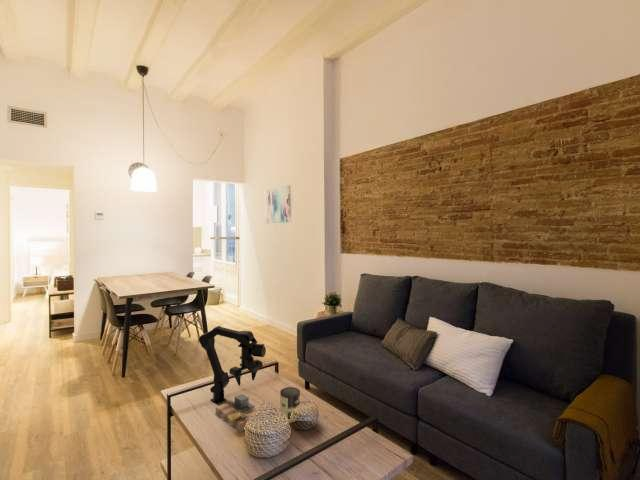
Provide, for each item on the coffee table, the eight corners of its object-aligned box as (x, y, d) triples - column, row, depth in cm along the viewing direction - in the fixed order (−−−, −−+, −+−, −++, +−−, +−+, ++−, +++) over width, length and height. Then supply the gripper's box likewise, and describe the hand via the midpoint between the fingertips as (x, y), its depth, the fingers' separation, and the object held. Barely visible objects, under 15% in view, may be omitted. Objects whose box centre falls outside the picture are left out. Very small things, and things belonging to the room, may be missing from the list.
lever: (237, 413, 173) (226, 416, 169) (237, 411, 173) (227, 414, 169) (243, 418, 170) (233, 421, 165) (243, 415, 170) (233, 418, 165)
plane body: (215, 414, 180) (215, 404, 180) (225, 409, 185) (225, 400, 185) (240, 432, 165) (240, 421, 165) (251, 426, 170) (251, 416, 170)
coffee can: (301, 414, 183) (302, 388, 182) (296, 424, 173) (297, 397, 172) (283, 411, 185) (283, 385, 185) (277, 422, 175) (277, 394, 174)
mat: (228, 406, 188) (228, 406, 188) (243, 400, 196) (243, 399, 196) (239, 413, 182) (239, 413, 182) (254, 406, 189) (254, 406, 189)
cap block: (234, 405, 189) (234, 396, 189) (242, 402, 193) (242, 393, 192) (240, 409, 185) (240, 400, 185) (248, 406, 189) (248, 397, 188)
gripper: (241, 363, 178) (240, 393, 178) (269, 354, 192) (268, 382, 192) (228, 358, 185) (228, 386, 186) (256, 349, 199) (256, 375, 200)
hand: (246, 382), depth 191 cm, fingers open, 9 cm apart
